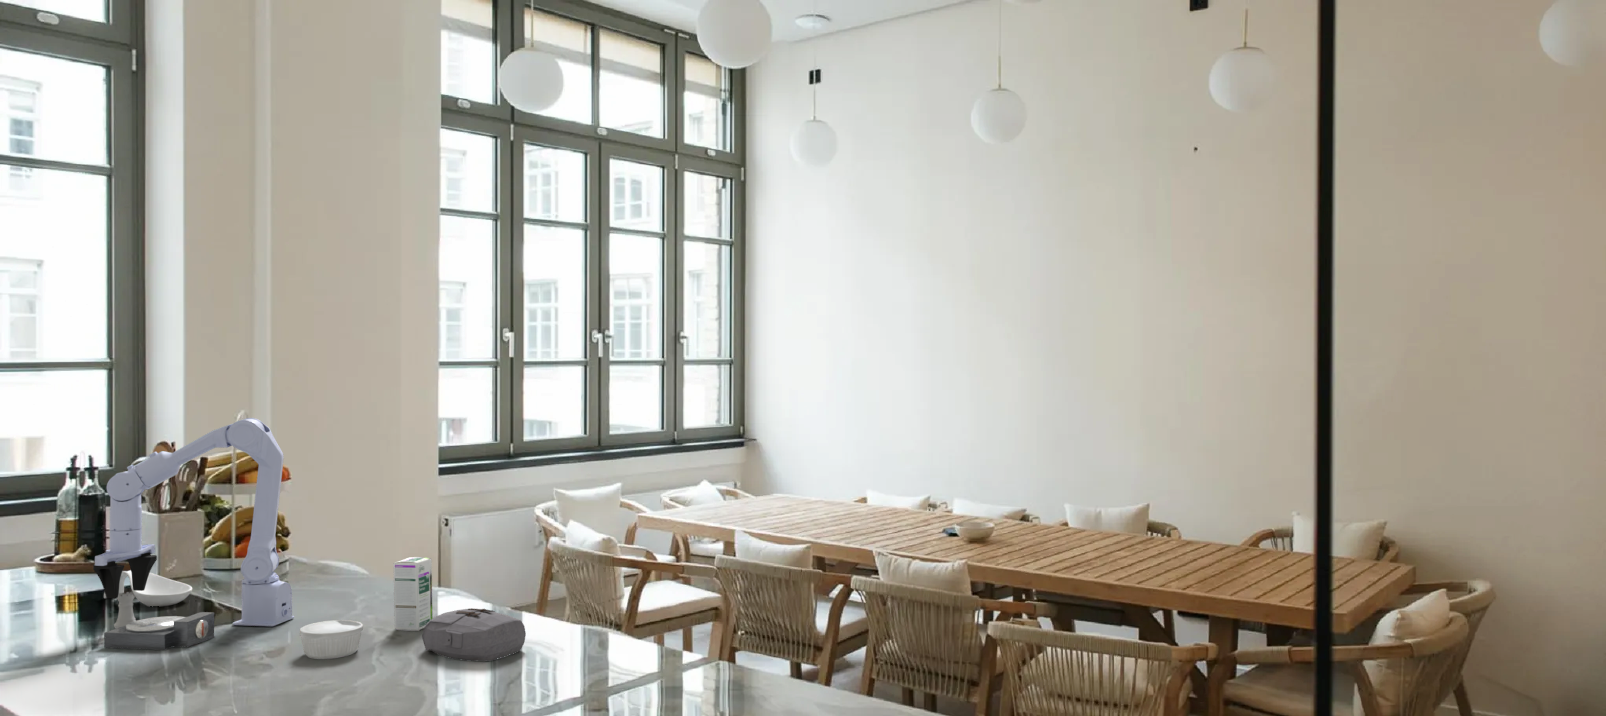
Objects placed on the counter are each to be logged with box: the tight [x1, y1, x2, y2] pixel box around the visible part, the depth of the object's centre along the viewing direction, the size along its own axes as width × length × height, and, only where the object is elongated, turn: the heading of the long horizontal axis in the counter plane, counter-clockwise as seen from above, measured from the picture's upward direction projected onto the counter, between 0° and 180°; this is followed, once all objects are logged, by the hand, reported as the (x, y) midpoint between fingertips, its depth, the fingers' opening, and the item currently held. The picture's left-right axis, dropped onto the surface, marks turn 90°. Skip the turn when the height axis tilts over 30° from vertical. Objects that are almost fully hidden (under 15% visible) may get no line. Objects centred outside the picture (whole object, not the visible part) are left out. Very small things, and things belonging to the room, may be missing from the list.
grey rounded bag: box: [421, 608, 527, 662], centre depth 214 cm, size 15×8×20 cm
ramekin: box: [299, 619, 364, 660], centre depth 213 cm, size 11×11×5 cm
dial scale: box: [103, 611, 215, 651], centre depth 222 cm, size 16×13×5 cm
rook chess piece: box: [113, 591, 137, 629], centre depth 229 cm, size 4×4×8 cm
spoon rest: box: [103, 569, 193, 608], centre depth 257 cm, size 24×12×7 cm, turn 67°
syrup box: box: [393, 556, 434, 632], centre depth 233 cm, size 6×6×14 cm
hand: (125, 594), depth 229 cm, fingers open, 7 cm apart
